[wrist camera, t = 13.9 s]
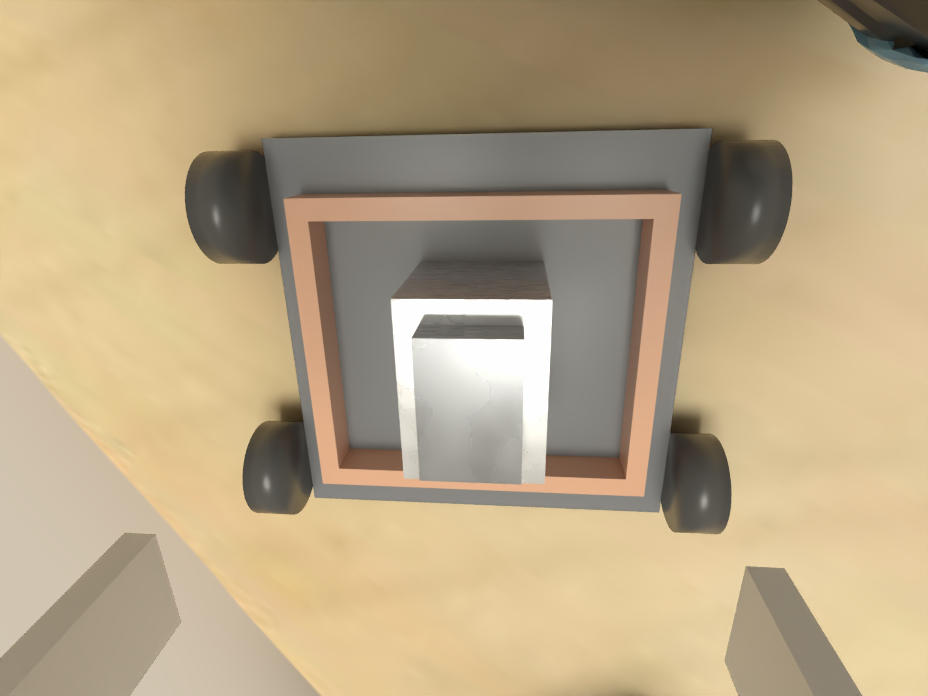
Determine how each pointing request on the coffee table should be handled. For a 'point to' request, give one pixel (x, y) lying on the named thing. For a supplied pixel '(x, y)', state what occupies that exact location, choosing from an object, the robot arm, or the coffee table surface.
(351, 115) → the coffee table surface
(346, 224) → the chassis
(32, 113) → the coffee table surface
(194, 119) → the coffee table surface
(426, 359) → the block
